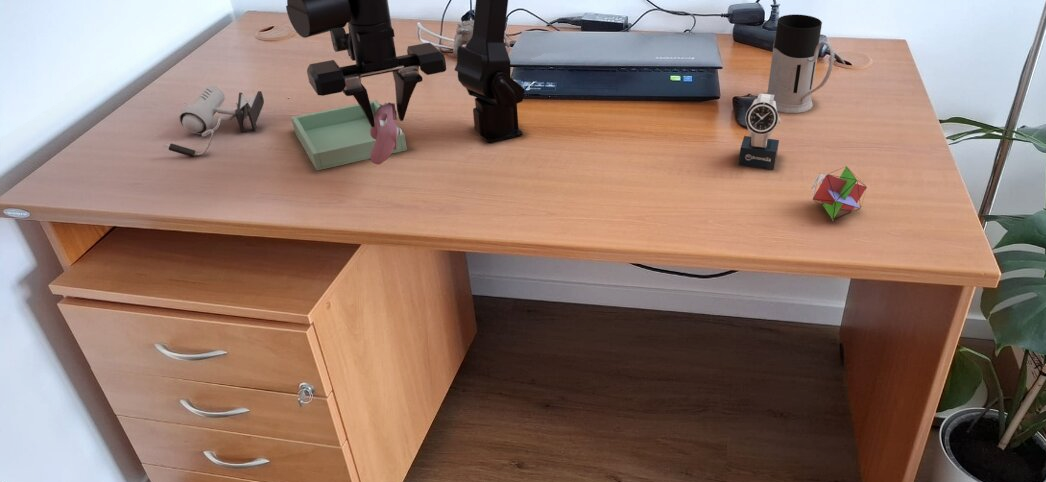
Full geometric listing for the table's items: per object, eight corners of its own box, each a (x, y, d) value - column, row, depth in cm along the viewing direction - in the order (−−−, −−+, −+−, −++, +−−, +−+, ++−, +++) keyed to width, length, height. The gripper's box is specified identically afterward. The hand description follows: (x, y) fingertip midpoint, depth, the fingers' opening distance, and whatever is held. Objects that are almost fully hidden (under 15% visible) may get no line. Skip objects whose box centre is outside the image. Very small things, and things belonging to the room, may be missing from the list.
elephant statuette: (462, 46, 173) (458, 10, 169) (517, 49, 172) (515, 12, 168) (450, 62, 166) (446, 25, 161) (508, 65, 164) (506, 27, 160)
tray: (379, 115, 145) (376, 100, 143) (406, 150, 134) (404, 134, 132) (295, 132, 139) (291, 117, 137) (316, 170, 128) (313, 154, 126)
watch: (736, 171, 128) (744, 105, 121) (743, 148, 134) (751, 84, 128) (772, 175, 127) (782, 109, 120) (778, 152, 133) (787, 88, 127)
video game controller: (402, 166, 119) (401, 122, 115) (370, 166, 118) (368, 121, 114) (400, 137, 127) (399, 94, 123) (370, 137, 126) (368, 94, 122)
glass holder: (793, 90, 154) (804, 10, 145) (842, 119, 143) (857, 35, 135) (754, 98, 151) (763, 17, 142) (801, 128, 140) (814, 43, 132)
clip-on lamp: (229, 175, 133) (272, 108, 145) (218, 145, 128) (264, 78, 140) (159, 165, 133) (208, 99, 145) (145, 135, 128) (197, 69, 140)
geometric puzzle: (864, 185, 120) (840, 147, 115) (883, 209, 114) (858, 170, 110) (822, 213, 122) (796, 177, 117) (838, 238, 116) (812, 201, 112)
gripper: (415, -7, 122) (428, 92, 131) (287, 13, 115) (311, 116, 124) (441, 14, 114) (453, 117, 124) (305, 37, 107) (329, 145, 116)
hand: (387, 123), depth 122 cm, fingers closed on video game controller, 4 cm apart
